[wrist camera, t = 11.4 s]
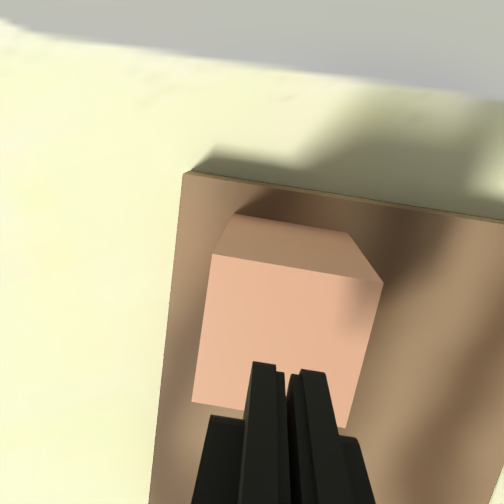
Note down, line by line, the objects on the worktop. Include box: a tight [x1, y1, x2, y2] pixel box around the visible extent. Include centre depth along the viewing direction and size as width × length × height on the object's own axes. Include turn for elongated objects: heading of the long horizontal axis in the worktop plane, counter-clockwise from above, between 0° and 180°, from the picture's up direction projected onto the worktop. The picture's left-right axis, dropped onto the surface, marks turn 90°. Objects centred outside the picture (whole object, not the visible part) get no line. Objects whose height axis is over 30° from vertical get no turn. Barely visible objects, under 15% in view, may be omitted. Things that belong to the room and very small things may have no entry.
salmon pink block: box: [191, 213, 384, 428], centre depth 17 cm, size 5×5×7 cm
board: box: [148, 171, 504, 504], centre depth 22 cm, size 18×20×2 cm
